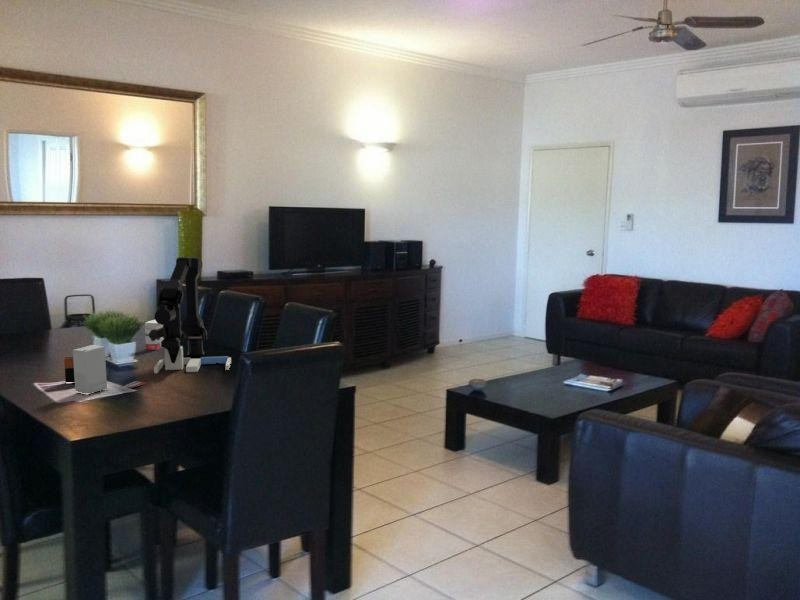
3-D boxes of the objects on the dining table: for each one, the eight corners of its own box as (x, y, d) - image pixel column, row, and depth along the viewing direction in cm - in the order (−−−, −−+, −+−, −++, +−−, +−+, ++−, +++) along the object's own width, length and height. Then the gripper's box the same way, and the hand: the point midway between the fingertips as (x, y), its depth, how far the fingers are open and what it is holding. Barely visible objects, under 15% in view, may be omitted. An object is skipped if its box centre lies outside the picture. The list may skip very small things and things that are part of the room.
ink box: (156, 350, 303) (155, 322, 302) (145, 350, 304) (144, 322, 303) (166, 346, 312) (165, 319, 310) (155, 346, 313) (154, 319, 311)
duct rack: (160, 364, 276) (159, 358, 276) (231, 362, 280) (231, 356, 280) (154, 373, 262) (153, 366, 262) (228, 370, 267) (228, 363, 266)
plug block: (166, 367, 272) (166, 346, 270) (183, 367, 272) (182, 346, 271) (165, 370, 268) (164, 348, 267) (182, 369, 269) (181, 348, 268)
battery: (87, 383, 248) (85, 354, 246) (65, 385, 245) (63, 356, 244) (88, 380, 252) (86, 352, 250) (66, 382, 249) (64, 353, 248)
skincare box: (94, 388, 241) (92, 344, 239) (108, 390, 239) (105, 345, 237) (74, 394, 234) (71, 348, 232) (87, 396, 231) (85, 350, 229)
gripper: (154, 317, 275) (155, 357, 278) (145, 325, 257) (147, 368, 259) (184, 316, 277) (185, 356, 279) (177, 324, 259) (179, 367, 261)
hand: (174, 361), depth 270 cm, fingers closed on plug block, 4 cm apart
